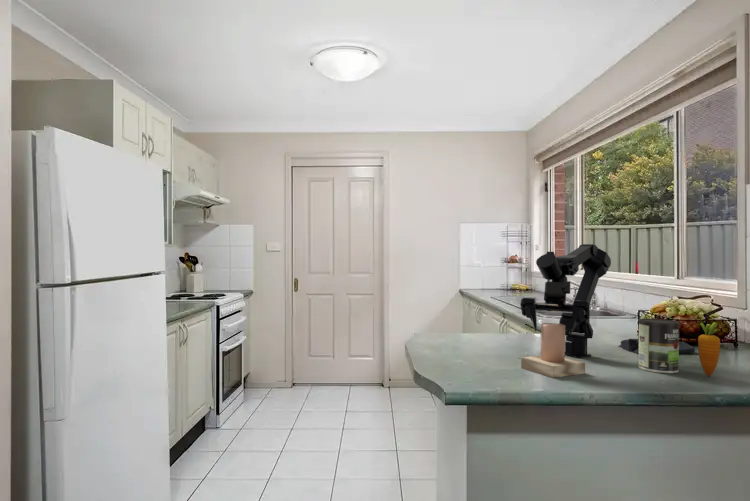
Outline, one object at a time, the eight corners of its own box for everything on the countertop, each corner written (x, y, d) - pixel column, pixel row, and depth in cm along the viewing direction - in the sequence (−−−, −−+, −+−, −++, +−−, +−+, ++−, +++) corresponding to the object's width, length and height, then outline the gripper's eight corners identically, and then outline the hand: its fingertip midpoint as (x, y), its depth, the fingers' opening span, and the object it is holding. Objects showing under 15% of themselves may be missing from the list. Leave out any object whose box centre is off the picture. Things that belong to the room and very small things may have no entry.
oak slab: (551, 364, 145) (552, 354, 145) (584, 373, 134) (585, 362, 134) (521, 367, 139) (521, 357, 139) (552, 377, 129) (553, 366, 129)
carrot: (693, 374, 134) (693, 320, 134) (710, 374, 135) (710, 320, 135) (707, 378, 129) (707, 323, 129) (724, 378, 130) (724, 323, 130)
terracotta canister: (552, 356, 141) (553, 322, 141) (569, 361, 135) (570, 325, 135) (535, 358, 138) (536, 323, 138) (552, 363, 132) (553, 326, 132)
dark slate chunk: (702, 357, 159) (703, 342, 159) (634, 355, 160) (634, 341, 160) (676, 347, 174) (676, 334, 174) (614, 346, 176) (614, 333, 176)
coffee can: (687, 371, 138) (687, 322, 138) (664, 375, 133) (665, 324, 133) (651, 363, 147) (652, 317, 147) (630, 367, 142) (630, 319, 142)
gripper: (521, 270, 145) (515, 311, 135) (589, 272, 137) (588, 316, 127) (525, 294, 152) (519, 335, 142) (590, 298, 144) (588, 341, 134)
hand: (552, 331), depth 136 cm, fingers open, 9 cm apart
